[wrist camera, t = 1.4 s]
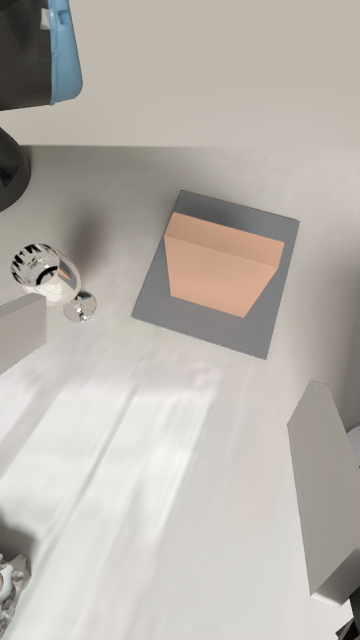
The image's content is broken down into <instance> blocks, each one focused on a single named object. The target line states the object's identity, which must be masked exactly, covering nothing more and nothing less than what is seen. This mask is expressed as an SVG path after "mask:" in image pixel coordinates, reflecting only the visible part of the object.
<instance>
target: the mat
mask: <svg viewBox="0 0 360 640" xmlns="http://www.w3.org/2000/svg"><path fill="white" fill-rule="evenodd" d="M173 212H175V213H179V214H183V215H186V216H190V217H193V218H197V219H201V220H204V221H208V222H212V223H215V224H219V225H223V226H226V227H230V228H234V229H237V230H241V231H245V232H248V233H252V234H255V235H259V236H263V237H266V238H270V239H274V240H277V241H281V242H285V243H284V247H283V251H282V255H281V259H280V263H279V267H278V269H277V270H276V272H275V273H274V275H273V276H272V278H271V279H270V280H269V282H268V283H267V285H266V286H265V288H264V289H263V291H262V292H261V294H260V295H259V297H258V298H257V299H256V301H255V302H254V304H253V305H252V307H251V308H250V310H249V311H248V313H247V314H246V315H245V317H244V318H242V317H239V316H235V315H232V314H229V313H226V312H222V311H219V310H216V309H213V308H209V307H206V306H203V305H199V304H196V303H193V302H190V301H186V300H183V299H180V298H177V297H173V296H171V293H170V284H169V275H168V266H167V257H166V248H165V239H164V235H163V238H162V240H161V243H160V245H159V248H158V250H157V253H156V255H155V258H154V260H153V263H152V265H151V268H150V270H149V273H148V275H147V278H146V280H145V283H144V285H143V288H142V290H141V293H140V295H139V298H138V300H137V303H136V305H135V308H134V310H133V313H132V315H131V316H132V318H135V319H139V320H142V321H145V322H148V323H151V324H154V325H157V326H161V327H164V328H167V329H170V330H173V331H176V332H179V333H182V334H186V335H189V336H192V337H195V338H198V339H201V340H204V341H208V342H211V343H214V344H217V345H220V346H223V347H226V348H230V349H233V350H236V351H239V352H242V353H245V354H248V355H252V356H255V357H258V358H261V359H264V360H265V359H266V358H267V354H268V350H269V346H270V342H271V337H272V333H273V329H274V325H275V321H276V317H277V313H278V309H279V305H280V301H281V297H282V293H283V288H284V284H285V280H286V276H287V272H288V268H289V264H290V260H291V256H292V252H293V248H294V244H295V239H296V235H297V231H298V227H299V223H300V221H297V220H293V219H289V218H286V217H282V216H278V215H274V214H270V213H267V212H263V211H259V210H255V209H252V208H248V207H244V206H240V205H236V204H233V203H229V202H225V201H221V200H218V199H214V198H210V197H206V196H203V195H199V194H195V193H191V192H187V191H184V190H181V193H180V195H179V198H178V200H177V203H176V205H175V208H174V210H173ZM172 214H173V213H172ZM171 217H172V215H171ZM170 219H171V218H170ZM169 222H170V220H169ZM168 224H169V223H168ZM167 227H168V225H167ZM166 229H167V228H166ZM165 232H166V230H165ZM164 234H165V233H164Z"/></svg>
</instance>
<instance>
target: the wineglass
mask: <svg viewBox="0 0 360 640" xmlns="http://www.w3.org/2000/svg"><path fill="white" fill-rule="evenodd" d="M10 270H11V274H12V277H13V279H14V280H15V282H16V283H17V285H18V286H19V288H20V289H21V290H22V292H23V293H24V294H25V295H27V294H30V293H32V292H34V293H37V294H40V295H44V296H46V307H50V308H56V307H61V306H63V313H64V315H65V317H66V318H67V319H68V320H70V321H72V322H75V323H81V322H84V321H86V320H88V319H90V318H91V317H92V315H93V314H94V312H95V309H96V302H95V299H94V297H93V296H92V295H91V294H89V293H87V292H83V291H79V290H80V286H81V278H80V274H79V272H78V269H77V268H76V266H75V265H74V263H73V262H72V261H71V260H70V259H69V258H68V257H67V256H66V255H64V254H63V253H61V252H60V251H59V250H57V249H55V248H54V247H52V246H50V245H48V244H44V243H33V244H29V245H27V246H25V247H23V248H22V249H20V250H19V251H18V252H17V253H16V254H15V256H14V257H13V259H12V261H11V266H10Z"/></svg>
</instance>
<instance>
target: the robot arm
mask: <svg viewBox="0 0 360 640" xmlns="http://www.w3.org/2000/svg"><path fill="white" fill-rule="evenodd" d="M82 85H83V81H82V74H81V68H80V62H79V56H78V51H77V45H76V40H75V34H74V28H73V23H72V18H71V12H70V7H69V1H68V0H0V111H4V110H12V109H19V108H26V107H35V106H43V105H54V104H55V103H56V102H60V101H65V100H69V99H73V98H75V97H77V96H78V94H79V93H80V92H81V89H82ZM29 178H30V164H29V161H28V159H27V157H26V155H25V154H24V152H23V151H22V149H21V147H20V146H19V144H18V143H17V142H16V141H15V140H14V139H13V138H12V137H11V136H10V135H9V134H8V133H6V132H5V131H4V130H3V129H2V128H1V127H0V212H1V211H3V210H4V209H6V208H8V207H9V206H10V205H12V204H13V203H14V202H15V201H16V200H17V199H18V198H19V197H20V196H21V195H22V193H23V192H24V190H25V189H26V187H27V185H28V182H29ZM45 343H46V296H44V295H40V294H37V293H34V292H32V293H30V294H27V295H25V296H23V297H20V298H18V299H16V300H13V301H11V302H9V303H6V304H4V305H2V306H0V375H1V374H2V373H4V372H5V371H6V370H8V369H9V368H11V367H12V366H14V365H15V364H16V363H18V362H19V361H21V360H22V359H24V358H25V357H26V356H28V355H29V354H31V353H32V352H34V351H35V350H36V349H38V348H39V347H41V346H42V345H44V344H45ZM287 427H288V434H289V441H290V449H291V456H292V464H293V471H294V478H295V486H296V493H297V501H298V508H299V515H300V523H301V530H302V537H303V545H304V552H305V560H306V567H307V574H308V582H309V589H310V596H311V597H313V598H315V599H317V600H320V601H322V602H325V603H327V604H330V605H332V606H334V607H337V608H340V607H341V606H342V605H343V604H344V603H345V602H346V601H347V600H348V599H350V603H351V607H352V612H353V616H354V617H353V618H352V619H351V620H350V621H349V622H348V623H346V624H345V625H344V626H343V627H342V628H341V629H339V630H338V631H337V632H336V633H335V634H336V635H337V636H338V640H360V466H359V465H358V463H357V460H356V457H355V455H354V452H353V449H352V447H351V444H350V441H349V439H348V436H347V434H346V431H345V428H344V426H343V423H342V420H341V418H340V415H339V412H338V410H337V407H336V405H335V402H334V399H333V397H332V394H331V391H330V389H329V386H328V385H325V384H322V383H319V382H316V381H313V380H310V382H309V384H308V386H307V388H306V390H305V392H304V393H303V395H302V397H301V399H300V401H299V403H298V405H297V407H296V409H295V410H294V412H293V414H292V416H291V418H290V420H289V422H288V424H287Z"/></svg>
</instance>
